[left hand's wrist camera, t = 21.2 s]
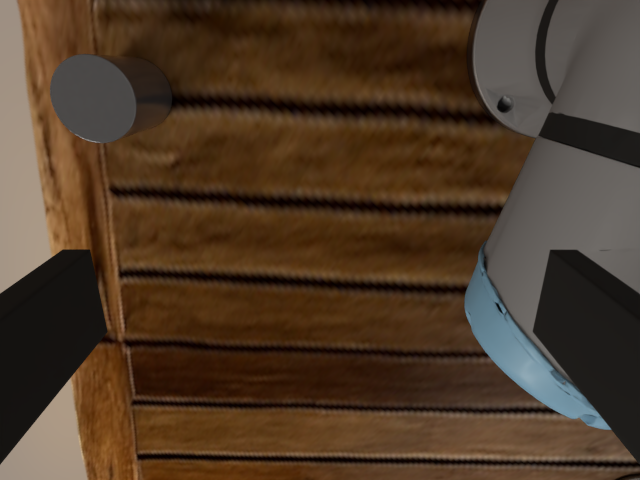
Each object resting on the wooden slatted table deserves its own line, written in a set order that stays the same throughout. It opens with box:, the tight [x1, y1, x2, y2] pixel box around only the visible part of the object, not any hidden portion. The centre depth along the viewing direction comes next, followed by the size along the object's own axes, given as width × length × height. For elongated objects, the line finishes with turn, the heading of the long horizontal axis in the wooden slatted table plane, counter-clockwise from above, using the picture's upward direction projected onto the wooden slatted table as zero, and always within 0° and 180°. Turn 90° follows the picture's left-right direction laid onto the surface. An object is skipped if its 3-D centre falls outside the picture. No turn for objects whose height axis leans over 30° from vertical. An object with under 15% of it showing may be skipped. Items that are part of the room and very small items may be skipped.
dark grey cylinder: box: [50, 54, 172, 143], centre depth 34 cm, size 6×6×8 cm
